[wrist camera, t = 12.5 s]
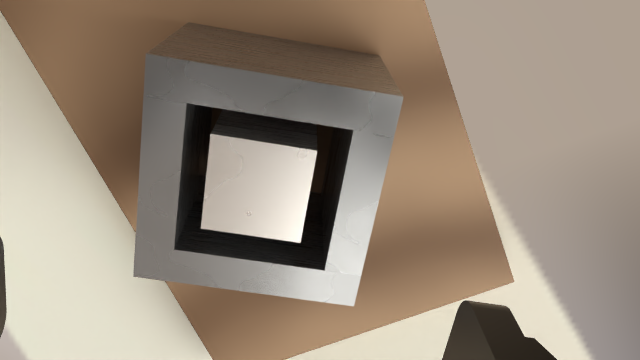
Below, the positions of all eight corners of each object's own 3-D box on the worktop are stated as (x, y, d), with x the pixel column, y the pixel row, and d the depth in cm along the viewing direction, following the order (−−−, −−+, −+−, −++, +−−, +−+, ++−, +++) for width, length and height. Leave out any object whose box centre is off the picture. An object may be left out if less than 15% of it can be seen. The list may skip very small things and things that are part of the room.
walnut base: (502, 260, 23) (514, 281, 22) (229, 354, 24) (225, 379, 23) (337, -247, 16) (340, -264, 15) (-23, -73, 18) (-51, -73, 16)
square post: (315, 95, 19) (317, 150, 14) (302, 167, 20) (300, 242, 15) (236, 82, 19) (210, 134, 14) (227, 156, 20) (200, 228, 15)
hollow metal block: (379, 54, 18) (403, 96, 13) (343, 222, 20) (353, 306, 16) (188, 22, 18) (146, 53, 13) (174, 197, 20) (133, 276, 15)
